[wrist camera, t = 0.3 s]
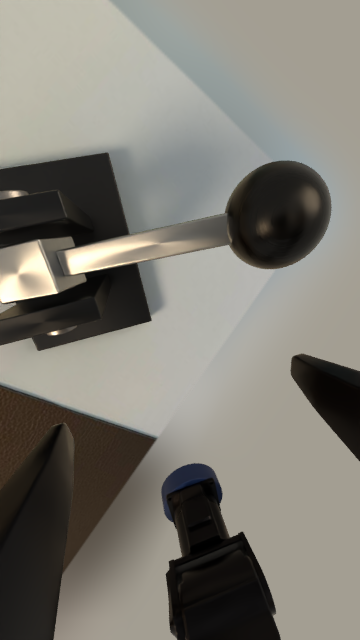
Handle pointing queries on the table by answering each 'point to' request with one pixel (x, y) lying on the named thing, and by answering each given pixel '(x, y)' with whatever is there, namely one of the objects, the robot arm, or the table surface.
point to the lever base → (84, 227)
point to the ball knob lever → (186, 235)
